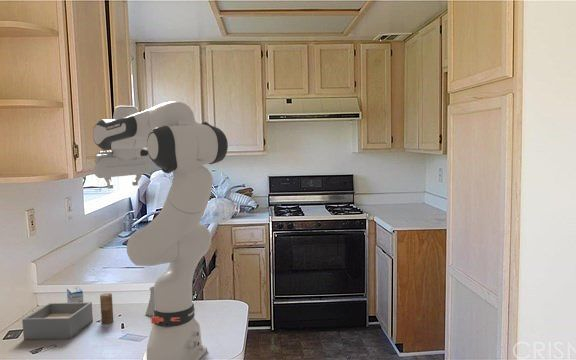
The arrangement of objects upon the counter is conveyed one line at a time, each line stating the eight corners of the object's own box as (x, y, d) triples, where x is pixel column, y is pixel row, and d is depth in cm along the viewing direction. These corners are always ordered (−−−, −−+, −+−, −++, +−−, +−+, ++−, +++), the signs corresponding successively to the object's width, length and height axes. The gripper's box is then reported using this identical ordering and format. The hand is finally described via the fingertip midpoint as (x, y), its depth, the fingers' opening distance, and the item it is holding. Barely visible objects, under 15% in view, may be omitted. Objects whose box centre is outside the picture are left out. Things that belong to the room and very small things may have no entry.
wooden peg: (110, 323, 165) (108, 296, 164) (99, 323, 165) (98, 296, 164) (115, 319, 169) (113, 293, 168) (104, 319, 169) (103, 293, 168)
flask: (167, 309, 177) (166, 284, 177) (160, 316, 170) (159, 290, 169) (149, 309, 178) (148, 284, 177) (142, 316, 171) (140, 290, 170)
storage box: (70, 339, 152) (69, 318, 152) (23, 339, 153) (22, 319, 152) (92, 320, 168) (91, 302, 168) (50, 321, 169) (49, 303, 168)
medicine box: (67, 309, 181) (66, 288, 181) (79, 307, 184) (78, 286, 183) (72, 315, 175) (70, 293, 174) (84, 312, 178) (83, 290, 177)
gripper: (98, 154, 153) (97, 192, 157) (154, 151, 167) (152, 186, 171) (91, 149, 157) (90, 186, 161) (146, 146, 171) (144, 181, 175)
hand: (122, 186), depth 166 cm, fingers open, 8 cm apart
